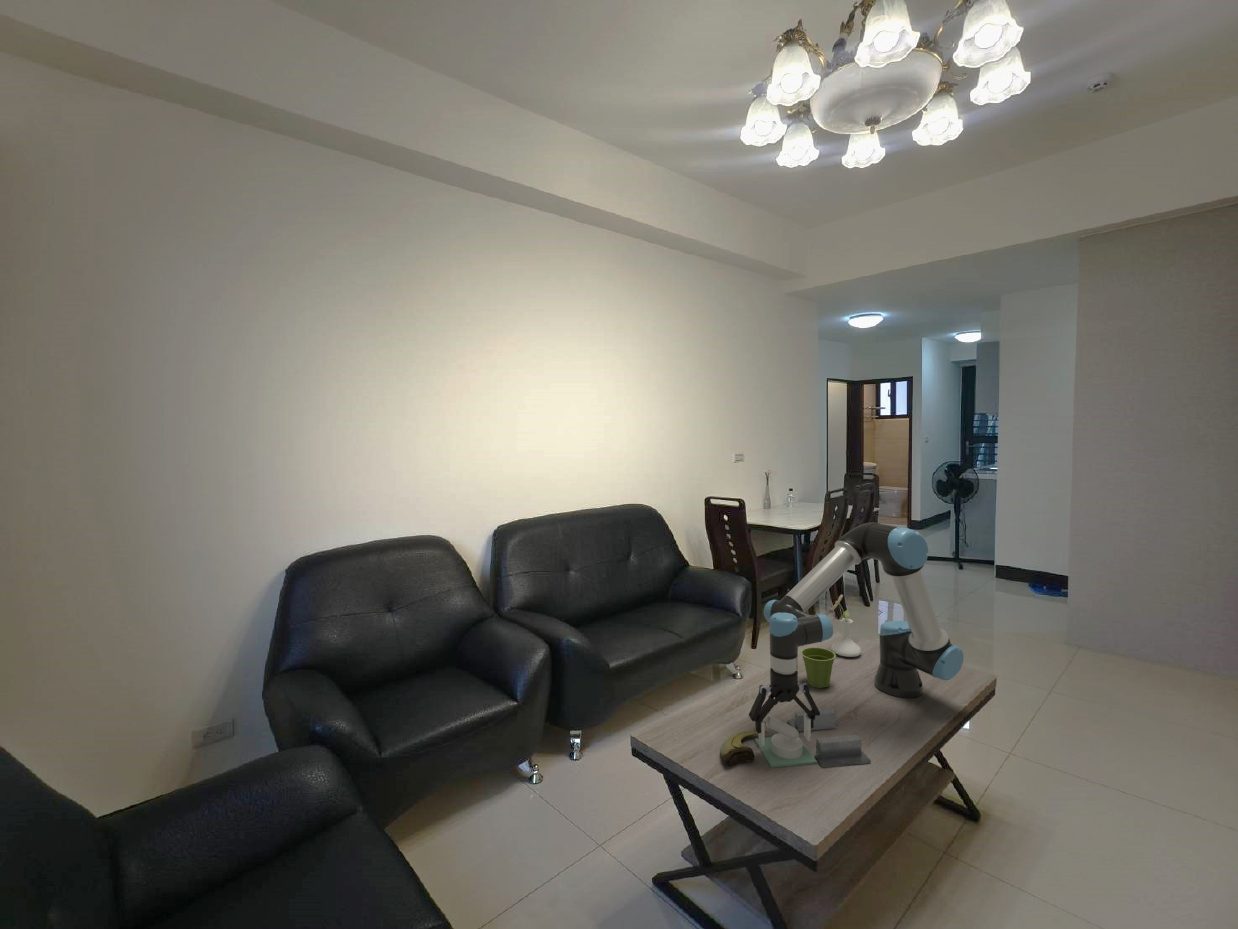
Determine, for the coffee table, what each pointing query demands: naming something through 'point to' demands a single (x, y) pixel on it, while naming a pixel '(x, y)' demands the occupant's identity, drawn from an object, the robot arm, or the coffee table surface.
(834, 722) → the vise
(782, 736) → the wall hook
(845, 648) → the flower in vase
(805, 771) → the coffee table surface
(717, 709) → the coffee table surface
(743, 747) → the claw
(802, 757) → the felt pad
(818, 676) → the plant pot
